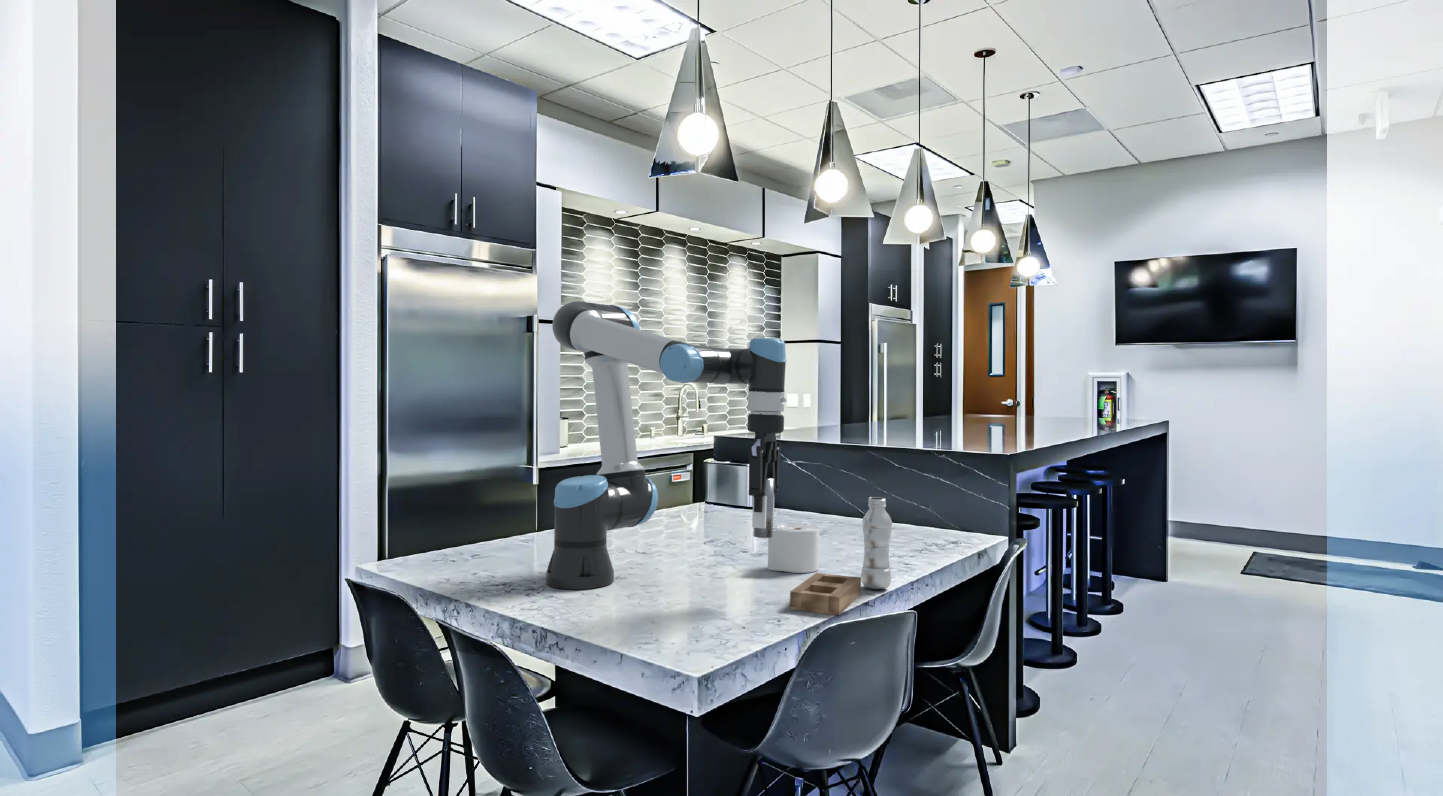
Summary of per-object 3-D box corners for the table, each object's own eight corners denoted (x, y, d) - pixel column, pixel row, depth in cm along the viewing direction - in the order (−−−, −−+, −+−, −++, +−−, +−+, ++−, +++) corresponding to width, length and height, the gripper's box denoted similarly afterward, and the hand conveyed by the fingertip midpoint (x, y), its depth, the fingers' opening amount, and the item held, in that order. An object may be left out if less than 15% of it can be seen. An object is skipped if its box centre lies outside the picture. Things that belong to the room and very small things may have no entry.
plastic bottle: (871, 583, 176) (872, 495, 176) (897, 589, 172) (898, 498, 172) (854, 588, 172) (855, 497, 172) (880, 594, 167) (881, 501, 167)
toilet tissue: (826, 567, 193) (826, 527, 193) (805, 576, 183) (806, 534, 183) (787, 562, 199) (787, 522, 198) (765, 571, 188) (765, 529, 188)
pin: (750, 536, 160) (752, 478, 160) (757, 533, 164) (758, 476, 164) (768, 538, 159) (770, 480, 158) (775, 535, 162) (776, 478, 162)
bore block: (790, 609, 155) (790, 591, 155) (815, 588, 171) (816, 572, 171) (839, 615, 151) (839, 597, 151) (860, 593, 167) (860, 577, 167)
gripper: (769, 414, 152) (766, 534, 152) (796, 412, 167) (793, 521, 167) (733, 413, 154) (730, 530, 155) (763, 411, 170) (760, 518, 170)
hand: (763, 525), depth 161 cm, fingers closed on pin, 4 cm apart
